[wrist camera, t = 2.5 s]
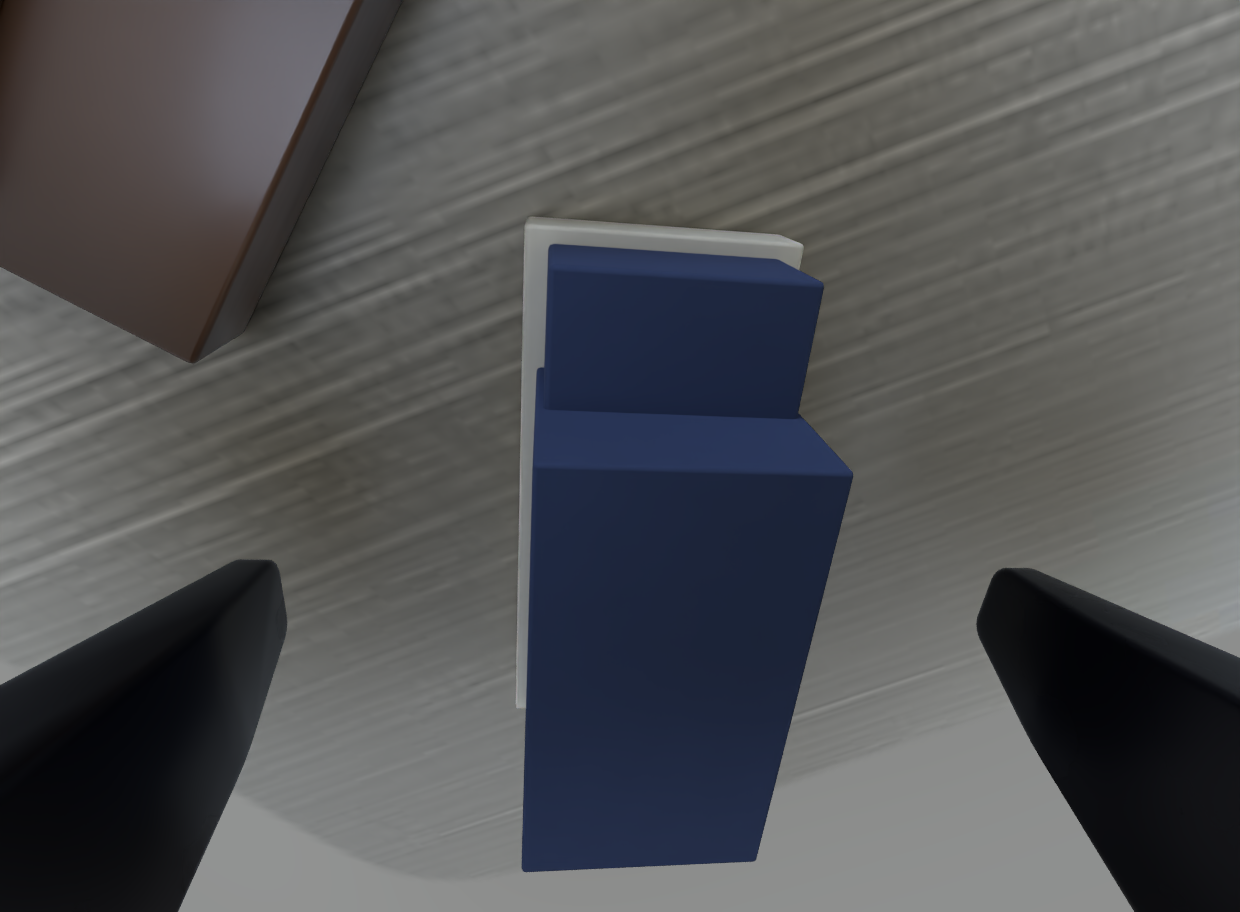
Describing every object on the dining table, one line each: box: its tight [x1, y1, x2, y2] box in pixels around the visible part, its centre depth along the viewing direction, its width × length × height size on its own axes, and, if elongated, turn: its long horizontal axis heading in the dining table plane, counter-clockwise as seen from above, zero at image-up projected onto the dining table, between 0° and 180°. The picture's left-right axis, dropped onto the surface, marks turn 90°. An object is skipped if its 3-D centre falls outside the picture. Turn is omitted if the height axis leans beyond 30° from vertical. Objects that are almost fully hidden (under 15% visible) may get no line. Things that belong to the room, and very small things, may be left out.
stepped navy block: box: [516, 216, 853, 872], centre depth 9 cm, size 8×4×4 cm, turn 175°
